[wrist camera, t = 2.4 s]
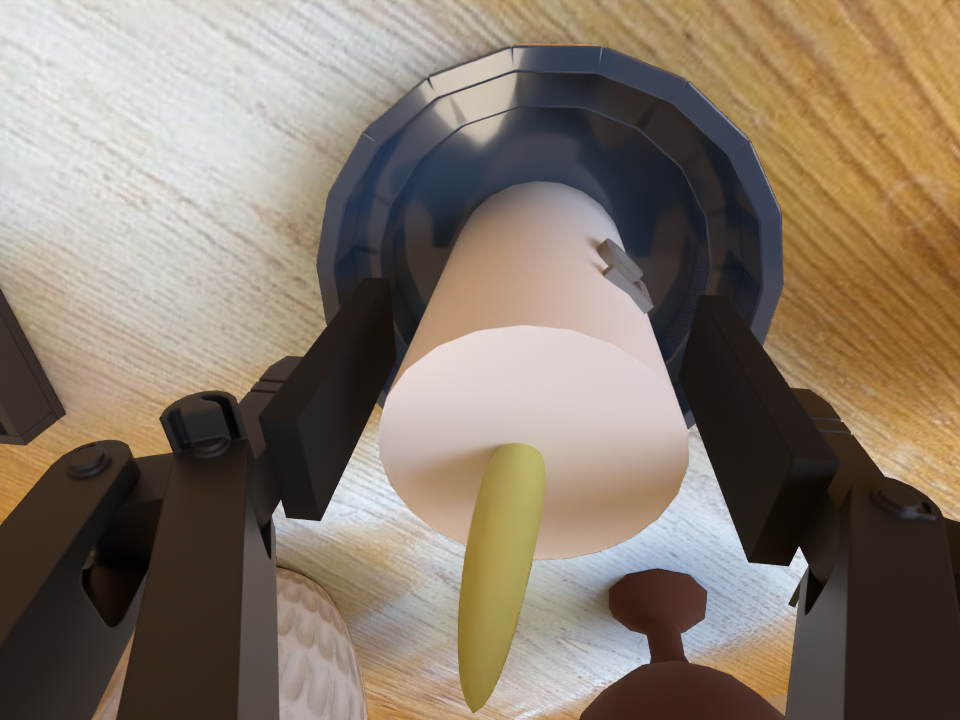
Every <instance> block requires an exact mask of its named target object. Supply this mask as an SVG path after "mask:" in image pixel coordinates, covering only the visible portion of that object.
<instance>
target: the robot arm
mask: <svg viewBox="0 0 960 720" xmlns="http://www.w3.org/2000/svg"><path fill="white" fill-rule="evenodd" d="M396 359H397V354H396V343H395V332H394V321H393V311H392V300H391V289H390V279H386V278H367V277H364V278H363V280H362V281H361V282H360V283H359V285H358V286H357V287H356V289H355V290H354V291H353V293H352V294H351V295H350V297H349V298H348V299H347V301H346V302H345V303H344V304H343V306H342V307H341V308H340V310H339V311H338V312H337V314H336V315H335V316H334V318H333V319H332V320H331V322H330V323H329V324H328V326H327V327H326V328H325V329H324V331H323V332H322V333H321V335H320V336H319V337H318V339H317V340H316V341H315V343H314V344H313V345H312V347H311V348H310V349H309V351H308V352H307V353H306V354H305V356H304V357H297V356H286V357H285V358H283V359H281V360H280V361H278V362H276V363H275V364H273V365H271V366H270V367H269V368H268V369H267V371H266V372H265V373H264V374H263V375H262V376H261V378H260V379H259V382H256V384H255V385H254V386H253V387H252V388H251V392H248V393H247V394H246V396H245V397H244V398H243V399H242V400H241V401H240V403H239V404H238V403H237V400H236V397H235V396H233V395H231V394H230V393H228V392H223V391H217V390H216V391H203V392H199V393H195V394H192V395H188V396H186V397H184V398H182V399H180V400H177V401H175V402H174V403H173V404H171V405H170V406H169V407H168V408H166V409H165V410H164V412H163V413H162V415H161V417H160V418H159V419H160V421H161V424H162V426H163V429H164V431H165V434H166V436H167V438H168V441H169V443H170V446H171V448H172V451H173V452H172V453H167V454H160V455H153V456H146V457H139V458H134V457H133V454H132V452H131V450H130V448H129V446H128V445H127V444H125V443H123V442H122V441H117V440H103V441H97V442H92V443H89V444H86V445H82V446H80V447H78V448H76V449H74V450H72V451H70V452H68V453H67V454H65V455H63V456H62V457H61V458H59V459H58V460H57V461H56V462H55V463H54V464H53V465H51V467H50V468H49V469H48V470H47V471H46V472H45V474H44V475H43V476H42V477H41V478H40V480H39V481H38V482H37V483H36V484H35V485H34V487H33V488H32V489H31V490H30V491H29V492H28V494H27V495H26V496H25V497H24V498H23V499H22V501H21V502H20V503H19V504H18V505H17V507H16V508H15V509H14V510H13V511H12V512H11V514H10V515H9V516H8V517H7V518H6V519H5V521H4V522H3V523H2V524H1V525H0V720H92V718H93V716H94V714H95V711H96V709H97V707H98V705H99V703H100V701H101V699H102V697H103V695H104V693H105V691H106V688H107V686H108V684H109V682H110V680H111V678H112V676H113V674H114V672H115V670H116V668H117V665H118V663H119V661H120V659H121V657H122V655H123V653H124V651H125V649H126V647H127V645H128V642H129V640H130V638H131V636H132V634H133V632H134V630H135V633H134V638H133V642H132V647H131V652H130V656H129V661H128V666H127V670H126V675H125V680H124V684H123V689H122V693H121V698H120V703H119V707H118V712H117V717H116V720H280V711H279V667H278V623H277V579H276V535H275V526H274V523H273V519H272V514H273V512H274V510H275V509H276V507H277V505H278V504H279V502H280V500H281V501H282V505H283V508H284V512H285V515H286V518H293V519H303V520H314V521H321V519H322V517H323V515H324V513H325V511H326V508H327V506H328V504H329V502H330V500H331V498H332V496H333V494H334V491H335V489H336V487H337V485H338V483H339V481H340V479H341V477H342V474H343V472H344V470H345V468H346V466H347V464H348V462H349V459H350V457H351V455H352V453H353V451H354V449H355V447H356V445H357V442H358V440H359V438H360V436H361V434H362V432H363V430H364V428H365V425H366V423H367V421H368V419H369V417H370V415H371V413H372V410H373V408H374V406H375V404H376V402H377V400H378V398H379V396H380V393H381V391H382V389H383V387H384V385H385V383H386V381H387V379H388V376H389V374H390V372H391V370H392V368H393V366H394V364H395V361H396ZM679 380H680V382H681V385H682V388H683V390H684V393H685V396H686V398H687V401H688V404H689V406H690V409H691V412H692V414H693V417H694V420H695V422H696V425H697V428H698V430H699V433H700V435H701V438H702V441H703V443H704V446H705V449H706V451H707V454H708V457H709V459H710V462H711V465H712V467H713V470H714V473H715V475H716V478H717V481H718V483H719V486H720V489H721V491H722V494H723V496H724V499H725V502H726V504H727V507H728V510H729V512H730V515H731V518H732V520H733V523H734V526H735V528H736V531H737V534H738V536H739V539H740V542H741V544H742V547H743V549H744V552H745V555H746V557H747V560H748V562H749V563H759V564H770V565H780V566H789V565H790V563H791V561H792V559H793V557H794V555H795V553H796V551H797V549H798V547H799V546H800V548H801V551H802V553H803V555H804V557H805V559H806V561H807V563H808V565H809V566H808V568H807V569H806V571H805V573H804V575H803V577H802V579H801V581H800V582H799V584H798V586H797V588H796V590H795V592H794V594H793V596H792V597H791V600H790V602H789V604H788V605H790V606H792V607H795V606H796V604H797V602H798V600H799V602H798V611H797V619H796V628H795V636H794V645H793V653H792V661H791V670H790V678H789V687H788V695H787V704H786V712H785V720H960V522H958V521H954V520H951V519H948V518H945V517H943V515H942V513H941V511H940V509H939V507H938V506H937V505H936V504H935V503H934V502H933V501H932V500H931V499H930V498H929V497H928V496H926V495H925V494H923V493H922V492H920V491H918V490H917V489H915V488H914V487H912V486H910V485H908V484H905V483H903V482H901V481H898V480H896V479H892V478H888V477H885V476H884V475H883V474H882V472H881V471H880V470H879V468H878V467H877V466H876V464H875V463H874V462H873V460H872V459H871V458H870V457H869V455H868V454H867V453H866V451H865V450H864V449H863V447H862V446H861V445H860V443H859V442H858V441H857V439H856V438H855V437H854V435H851V431H850V430H849V429H848V428H847V426H846V425H845V424H844V422H841V418H840V417H839V416H838V414H837V413H836V412H835V410H834V409H833V408H832V406H831V405H830V404H829V403H828V402H827V401H825V400H824V399H822V398H821V397H820V396H818V395H817V394H815V393H814V392H813V391H811V390H810V389H798V388H790V387H789V385H788V384H787V382H786V381H785V379H784V378H783V376H782V375H781V374H780V372H779V371H778V369H777V368H776V366H775V365H774V363H773V362H772V360H771V359H770V357H769V356H768V354H767V353H766V352H765V350H764V349H763V347H762V346H761V344H760V343H759V341H758V340H757V338H756V337H755V335H754V334H753V332H752V331H751V330H750V328H749V327H748V325H747V324H746V322H745V321H744V319H743V318H742V316H741V315H740V313H739V312H738V310H737V309H736V308H735V306H734V305H733V303H732V302H731V300H730V299H729V297H728V296H714V295H699V297H698V301H697V305H696V309H695V313H694V317H693V321H692V325H691V329H690V333H689V337H688V341H687V345H686V349H685V353H684V357H683V361H682V365H681V369H680V373H679ZM135 628H136V629H135Z"/></svg>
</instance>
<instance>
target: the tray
mask: <svg viewBox="0 0 960 720" xmlns="http://www.w3.org/2000/svg"><path fill="white" fill-rule="evenodd" d="M64 415H65V412H64V410H63V408H62V406H61V404H60V402H59V400H58V398H57V396H56V395H55V393H54V391H53V389H52V387H51V385H50V383H49V381H48V379H47V377H46V376H45V374H44V372H43V370H42V368H41V366H40V364H39V362H38V360H37V358H36V357H35V355H34V353H33V351H32V349H31V347H30V345H29V343H28V341H27V339H26V338H25V336H24V334H23V332H22V330H21V328H20V326H19V324H18V322H17V320H16V319H15V317H14V315H13V313H12V311H11V309H10V307H9V305H8V303H7V301H6V300H5V298H4V296H3V294H2V292H1V290H0V443H1V444H13V445H24V446H25V445H27V444H28V443H29V442H31V441H32V440H33V439H35V438H36V437H37V436H38V435H40V434H41V433H42V432H43V431H45V430H46V429H47V428H49V427H50V426H51V425H52V424H54V423H55V422H56V421H57V420H59V419H60V418H62V417H63V416H64Z"/></svg>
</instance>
